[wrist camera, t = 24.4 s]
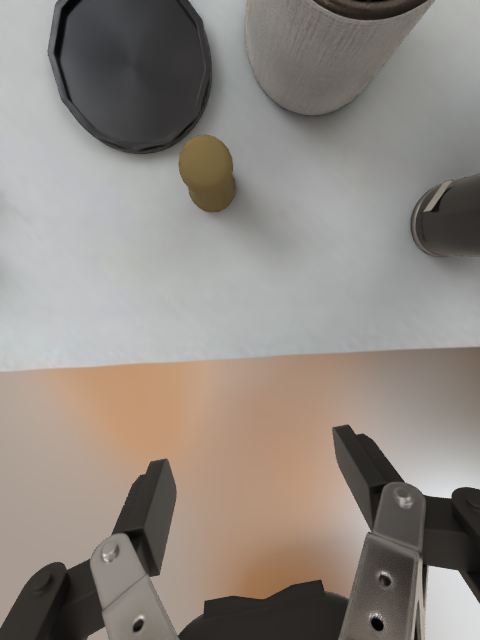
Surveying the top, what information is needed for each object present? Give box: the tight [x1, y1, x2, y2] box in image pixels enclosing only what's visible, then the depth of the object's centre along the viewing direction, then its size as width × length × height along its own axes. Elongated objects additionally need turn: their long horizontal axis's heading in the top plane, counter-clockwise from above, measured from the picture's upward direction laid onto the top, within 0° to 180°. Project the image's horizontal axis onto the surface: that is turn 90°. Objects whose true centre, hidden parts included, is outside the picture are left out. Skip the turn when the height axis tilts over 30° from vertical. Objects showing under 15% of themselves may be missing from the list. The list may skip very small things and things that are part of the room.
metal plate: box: [48, 0, 212, 154], centre depth 33 cm, size 18×18×1 cm
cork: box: [179, 135, 236, 212], centre depth 31 cm, size 6×6×11 cm
